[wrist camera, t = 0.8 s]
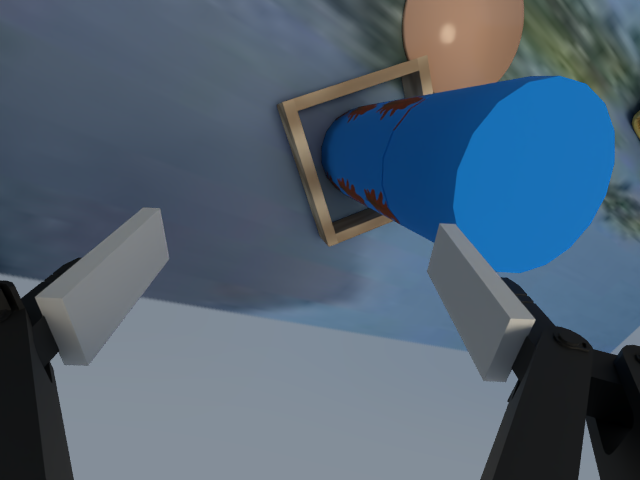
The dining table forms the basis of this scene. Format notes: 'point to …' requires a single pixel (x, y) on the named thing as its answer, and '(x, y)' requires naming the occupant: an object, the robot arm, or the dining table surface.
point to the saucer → (463, 39)
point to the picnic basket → (636, 123)
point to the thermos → (482, 164)
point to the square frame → (331, 233)
